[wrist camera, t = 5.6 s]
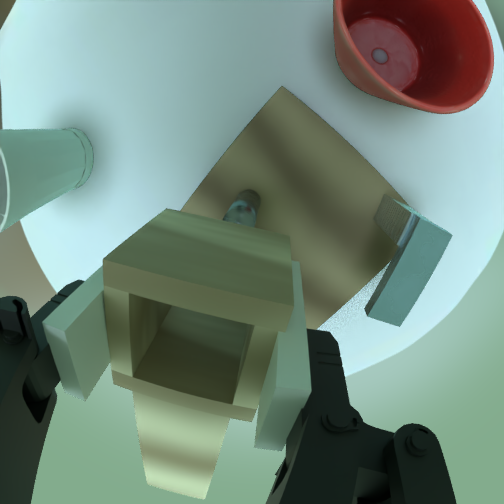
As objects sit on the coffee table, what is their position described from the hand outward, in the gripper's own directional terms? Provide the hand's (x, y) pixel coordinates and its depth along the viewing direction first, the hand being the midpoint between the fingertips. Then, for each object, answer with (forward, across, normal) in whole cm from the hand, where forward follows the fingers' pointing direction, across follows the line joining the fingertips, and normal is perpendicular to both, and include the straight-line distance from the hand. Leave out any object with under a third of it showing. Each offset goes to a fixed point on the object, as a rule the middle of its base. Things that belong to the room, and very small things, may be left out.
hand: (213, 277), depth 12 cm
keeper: (+14, +12, -1) cm, 18 cm away
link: (0, 0, -5) cm, 5 cm away
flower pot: (+15, +8, +15) cm, 23 cm away
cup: (+15, -19, +2) cm, 24 cm away
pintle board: (+15, +3, -4) cm, 15 cm away
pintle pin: (+15, 0, 0) cm, 15 cm away
